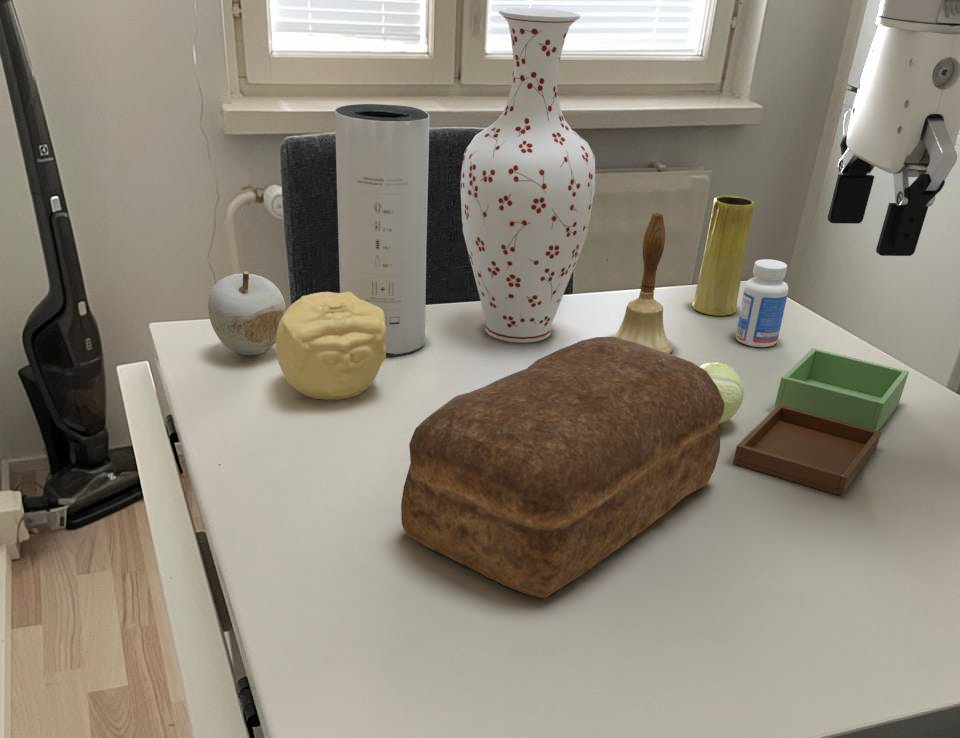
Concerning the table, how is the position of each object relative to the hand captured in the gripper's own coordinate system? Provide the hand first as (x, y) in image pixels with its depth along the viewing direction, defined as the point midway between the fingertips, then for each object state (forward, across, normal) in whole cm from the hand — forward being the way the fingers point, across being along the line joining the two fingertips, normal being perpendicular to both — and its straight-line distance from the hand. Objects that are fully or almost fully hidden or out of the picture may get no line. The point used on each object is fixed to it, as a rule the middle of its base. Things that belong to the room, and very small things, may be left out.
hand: (868, 237), depth 86 cm
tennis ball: (+23, +11, +7) cm, 26 cm away
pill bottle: (+23, +36, -8) cm, 43 cm away
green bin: (+23, +15, -10) cm, 29 cm away
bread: (+23, -6, +26) cm, 35 cm away
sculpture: (+23, +22, +47) cm, 57 cm away
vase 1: (+23, +40, +23) cm, 51 cm away
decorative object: (+23, +32, +56) cm, 69 cm away
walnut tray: (+23, +3, -2) cm, 23 cm away
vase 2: (+23, +48, -6) cm, 53 cm away
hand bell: (+23, +34, +8) cm, 41 cm away
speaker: (+23, +36, +40) cm, 59 cm away
